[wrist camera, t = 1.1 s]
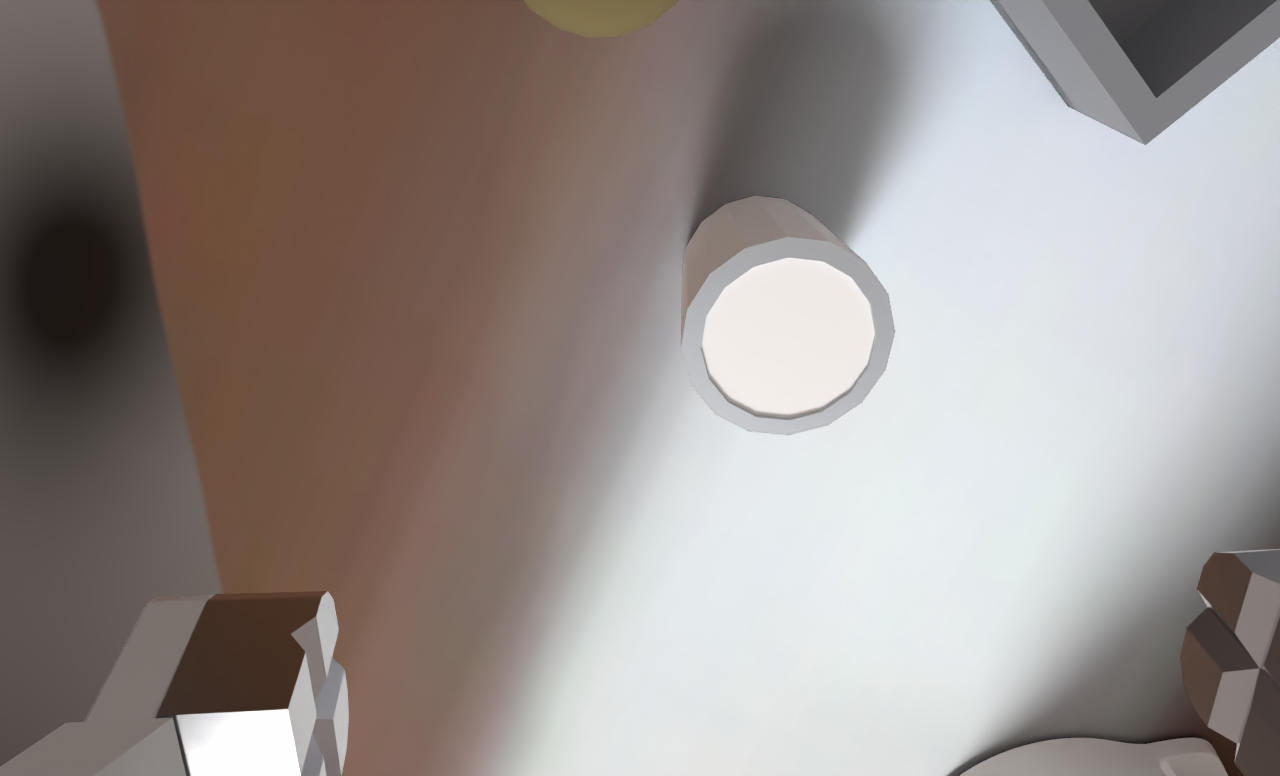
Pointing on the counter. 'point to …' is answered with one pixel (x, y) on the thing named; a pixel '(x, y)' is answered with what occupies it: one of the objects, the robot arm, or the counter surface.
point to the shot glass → (780, 318)
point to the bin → (1140, 53)
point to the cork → (600, 15)
